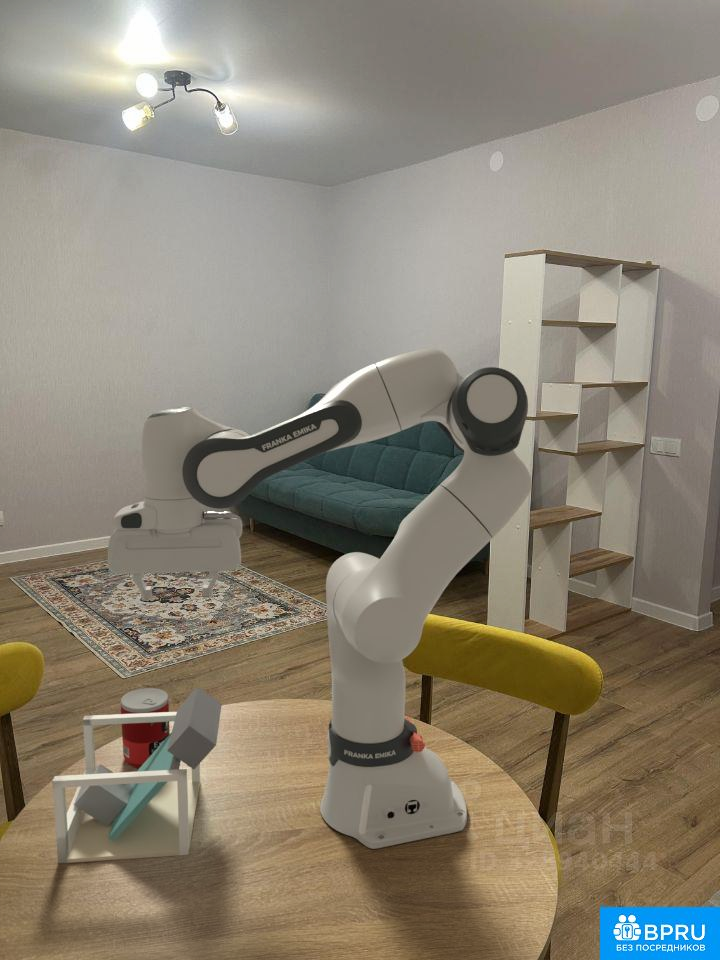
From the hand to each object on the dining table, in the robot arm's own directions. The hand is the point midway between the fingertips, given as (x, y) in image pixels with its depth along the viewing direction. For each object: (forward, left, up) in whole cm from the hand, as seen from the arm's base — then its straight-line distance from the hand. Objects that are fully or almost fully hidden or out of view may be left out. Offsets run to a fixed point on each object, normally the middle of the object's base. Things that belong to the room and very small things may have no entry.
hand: (177, 597), depth 116 cm
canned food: (+7, -6, -31) cm, 32 cm away
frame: (+6, +11, -31) cm, 33 cm away
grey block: (+8, +11, -29) cm, 32 cm away
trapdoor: (0, +11, -23) cm, 26 cm away
